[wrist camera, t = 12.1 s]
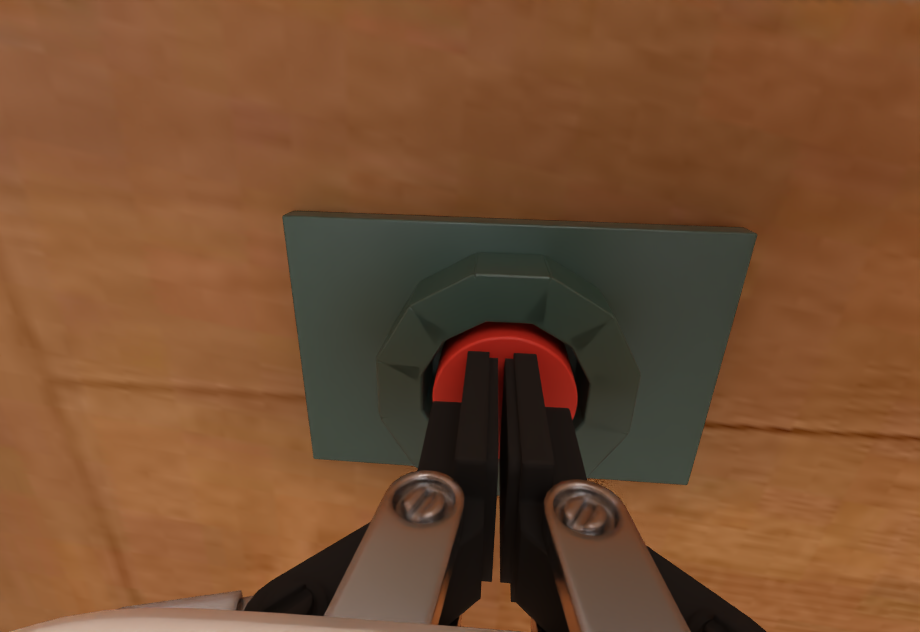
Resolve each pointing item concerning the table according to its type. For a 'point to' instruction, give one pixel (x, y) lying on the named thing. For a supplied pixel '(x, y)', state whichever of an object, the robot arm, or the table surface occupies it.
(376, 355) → the button box
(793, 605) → the table surface
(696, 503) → the table surface
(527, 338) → the button
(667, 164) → the table surface
